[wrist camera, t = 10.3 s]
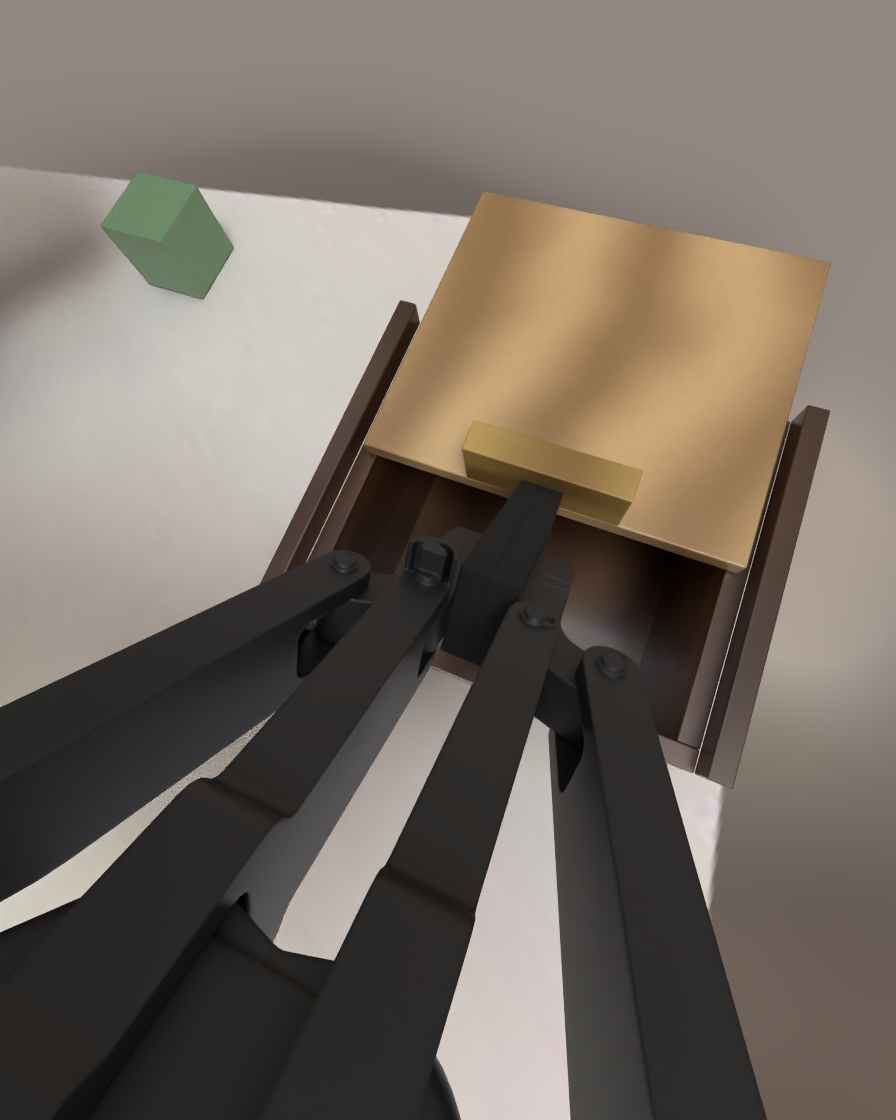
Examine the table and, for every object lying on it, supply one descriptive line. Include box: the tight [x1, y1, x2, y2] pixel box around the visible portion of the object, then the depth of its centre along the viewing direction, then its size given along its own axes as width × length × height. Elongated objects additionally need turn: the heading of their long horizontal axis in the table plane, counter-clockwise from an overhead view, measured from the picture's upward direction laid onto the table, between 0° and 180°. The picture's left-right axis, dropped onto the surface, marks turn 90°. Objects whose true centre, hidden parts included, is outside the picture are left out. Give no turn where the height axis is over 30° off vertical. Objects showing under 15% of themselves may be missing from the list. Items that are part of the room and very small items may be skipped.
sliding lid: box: [364, 192, 831, 573], centre depth 20 cm, size 15×14×3 cm
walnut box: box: [260, 301, 830, 789], centre depth 25 cm, size 18×14×11 cm
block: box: [101, 172, 233, 299], centre depth 37 cm, size 5×5×5 cm
